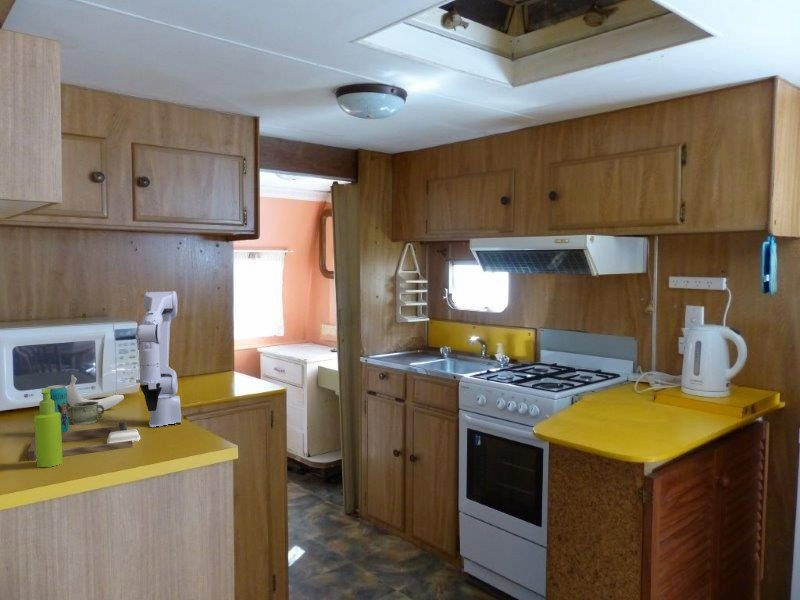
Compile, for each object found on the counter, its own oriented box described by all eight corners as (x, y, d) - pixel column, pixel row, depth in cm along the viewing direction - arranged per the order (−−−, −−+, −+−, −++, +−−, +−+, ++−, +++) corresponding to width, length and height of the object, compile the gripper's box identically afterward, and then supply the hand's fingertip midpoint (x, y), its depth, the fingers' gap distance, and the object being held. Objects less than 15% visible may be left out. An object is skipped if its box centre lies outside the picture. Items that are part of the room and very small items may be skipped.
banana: (124, 410, 225) (123, 370, 224) (65, 417, 215) (63, 375, 215) (123, 407, 229) (121, 368, 228) (65, 414, 219) (63, 373, 219)
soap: (106, 446, 178) (106, 436, 178) (107, 440, 184) (106, 431, 184) (140, 442, 182) (140, 432, 181) (139, 436, 188) (139, 427, 188)
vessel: (65, 427, 201) (64, 408, 200) (64, 422, 208) (63, 403, 208) (106, 422, 207) (105, 403, 206) (103, 417, 214) (102, 399, 214)
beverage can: (59, 437, 188) (57, 388, 188) (43, 436, 189) (41, 388, 189) (73, 432, 194) (71, 384, 193) (57, 431, 195) (55, 384, 194)
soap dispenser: (36, 470, 156) (32, 392, 155) (37, 463, 162) (33, 387, 161) (62, 466, 158) (58, 389, 158) (63, 459, 165) (59, 385, 164)
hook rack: (129, 432, 192) (129, 421, 192) (132, 447, 175) (132, 434, 175) (35, 443, 181) (34, 432, 181) (28, 460, 164) (27, 447, 164)
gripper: (134, 362, 190) (136, 406, 190) (136, 368, 177) (138, 415, 177) (158, 360, 193) (160, 403, 193) (162, 366, 180) (164, 412, 180)
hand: (151, 409), depth 185 cm, fingers open, 4 cm apart
